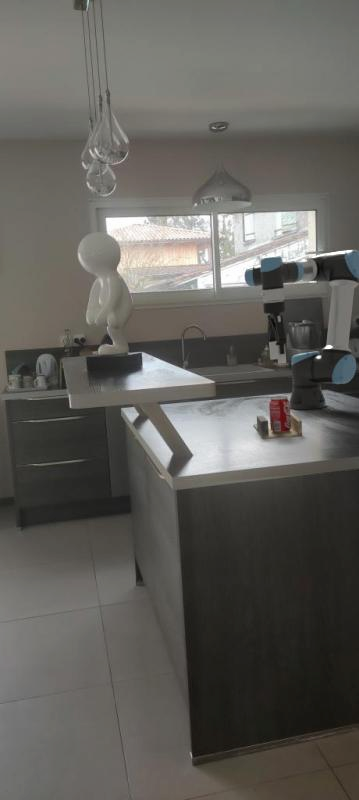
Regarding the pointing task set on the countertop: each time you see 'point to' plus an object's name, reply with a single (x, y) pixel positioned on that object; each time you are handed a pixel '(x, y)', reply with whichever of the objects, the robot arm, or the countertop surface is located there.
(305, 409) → the robot arm
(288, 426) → the soda can
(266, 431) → the u-shaped channel bracket
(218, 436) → the countertop surface
